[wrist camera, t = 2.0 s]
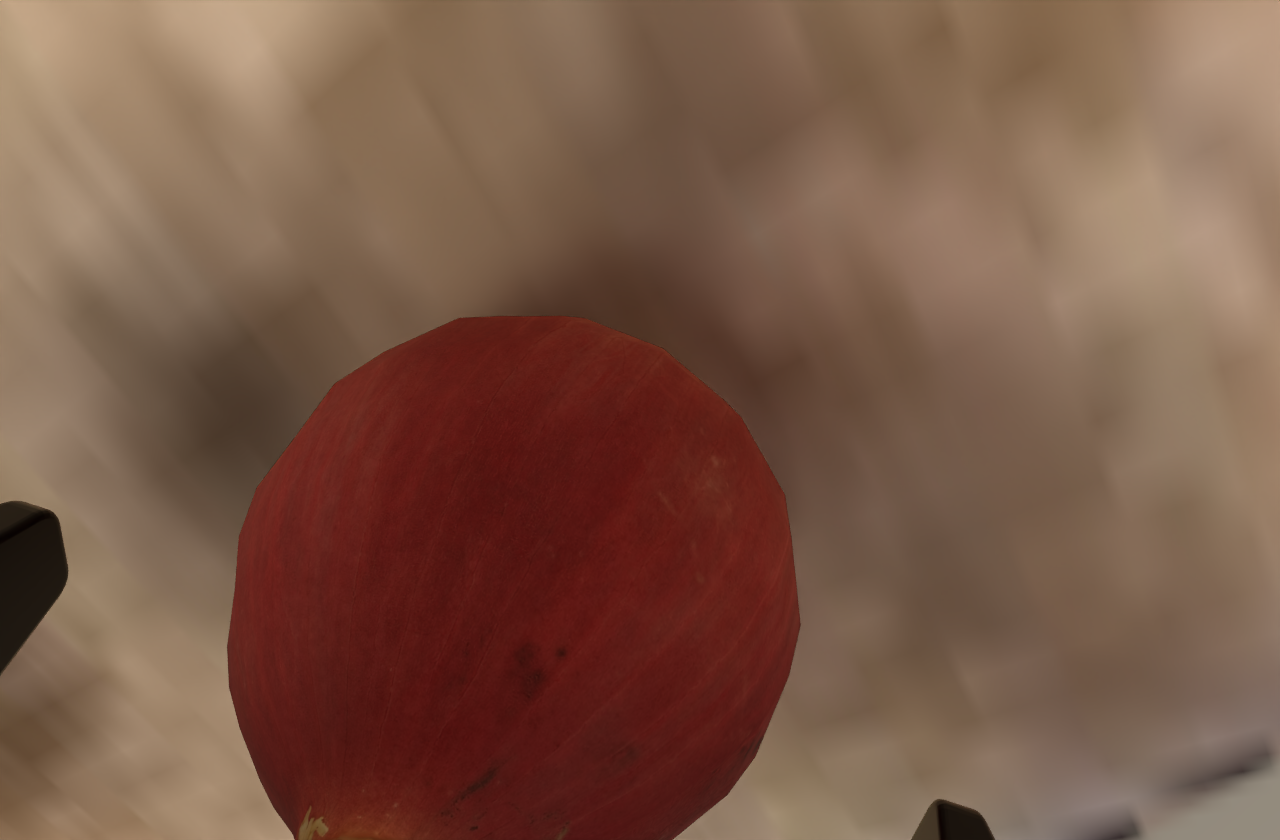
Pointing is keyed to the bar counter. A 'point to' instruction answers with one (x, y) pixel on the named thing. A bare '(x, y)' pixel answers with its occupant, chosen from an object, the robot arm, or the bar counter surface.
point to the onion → (512, 594)
